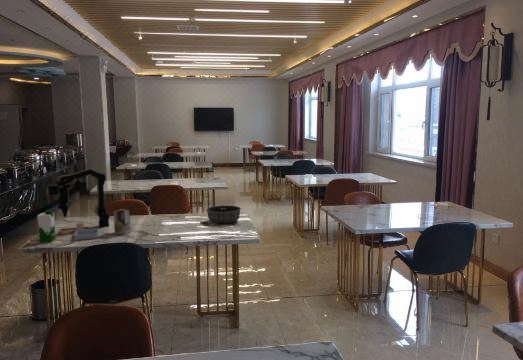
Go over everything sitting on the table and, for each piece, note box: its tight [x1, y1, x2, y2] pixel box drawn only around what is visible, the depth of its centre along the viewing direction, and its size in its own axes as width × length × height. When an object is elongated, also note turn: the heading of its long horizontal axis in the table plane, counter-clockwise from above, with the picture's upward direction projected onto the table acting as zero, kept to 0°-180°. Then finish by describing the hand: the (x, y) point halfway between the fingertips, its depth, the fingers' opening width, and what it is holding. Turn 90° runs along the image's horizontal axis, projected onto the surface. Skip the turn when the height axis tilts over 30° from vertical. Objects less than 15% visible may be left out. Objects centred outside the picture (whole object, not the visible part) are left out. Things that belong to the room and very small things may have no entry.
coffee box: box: [113, 208, 132, 235], centre depth 303 cm, size 9×6×16 cm
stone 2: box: [76, 221, 85, 230], centre depth 308 cm, size 4×4×6 cm
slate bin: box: [73, 227, 100, 241], centre depth 295 cm, size 14×14×4 cm
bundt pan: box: [205, 205, 242, 224], centre depth 335 cm, size 26×26×10 cm
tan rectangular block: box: [60, 208, 70, 219], centre depth 304 cm, size 4×4×6 cm
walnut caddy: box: [57, 226, 90, 236], centre depth 307 cm, size 19×15×1 cm
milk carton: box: [36, 209, 56, 243], centre depth 284 cm, size 9×9×20 cm
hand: (65, 216), depth 304 cm, fingers closed on tan rectangular block, 4 cm apart
